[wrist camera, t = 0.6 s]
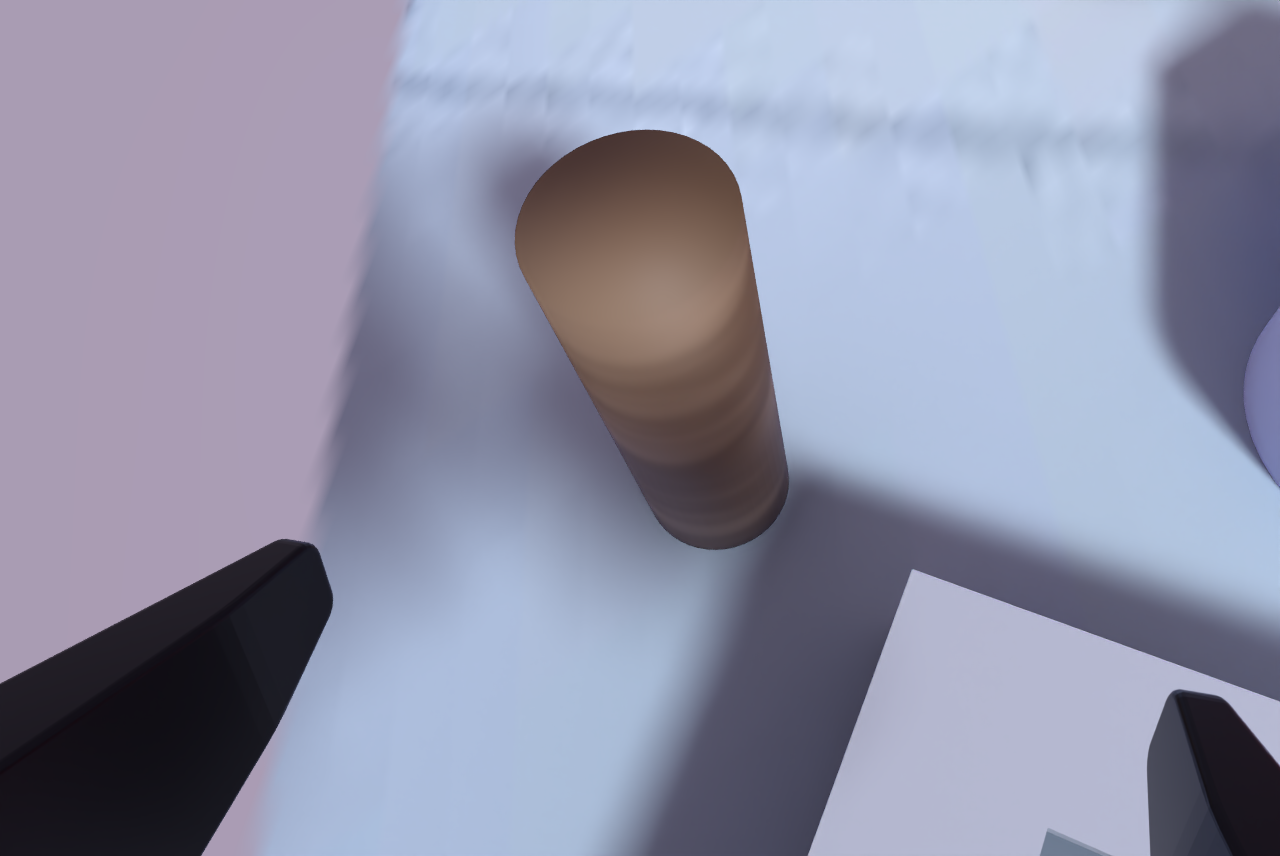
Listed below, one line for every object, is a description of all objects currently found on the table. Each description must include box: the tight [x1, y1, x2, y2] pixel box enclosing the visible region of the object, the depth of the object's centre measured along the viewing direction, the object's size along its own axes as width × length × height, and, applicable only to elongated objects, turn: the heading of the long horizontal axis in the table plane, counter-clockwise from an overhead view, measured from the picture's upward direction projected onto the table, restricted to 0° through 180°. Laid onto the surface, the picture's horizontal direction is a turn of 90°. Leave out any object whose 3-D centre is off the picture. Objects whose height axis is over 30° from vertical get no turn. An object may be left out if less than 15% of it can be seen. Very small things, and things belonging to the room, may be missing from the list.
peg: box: [515, 130, 789, 550], centre depth 22 cm, size 4×4×12 cm
